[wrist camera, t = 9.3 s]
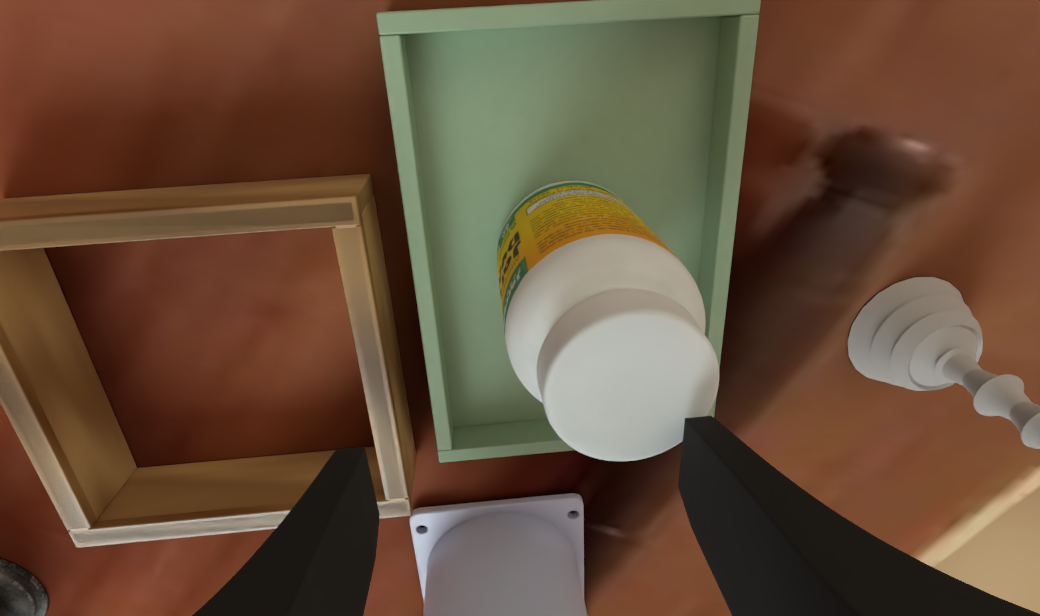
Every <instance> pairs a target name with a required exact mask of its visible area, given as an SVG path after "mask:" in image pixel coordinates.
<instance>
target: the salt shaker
mask: <svg viewBox="0 0 1040 616" xmlns="http://www.w3.org/2000/svg"><path fill="white" fill-rule="evenodd" d="M48 601H49V600H48V597H47V594H46V591H45V589H44V588H43V586H42V585H41V584H40V582H39V581H38V580H37V579H36V578H35V577H34V576H32V575H31V574H30V573H29V572H28V571H26V570H25V569H23V568H21V567H19V566H17V565H15V564H13V563H11V562H9V561H6V560H3V559H0V616H44V615H45V614H46V612H47V610H48Z"/></svg>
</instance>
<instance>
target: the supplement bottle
mask: <svg viewBox="0 0 1040 616" xmlns="http://www.w3.org/2000/svg"><path fill="white" fill-rule="evenodd" d="M497 270H498V278H499V288H500V295H501V297H500V298H501V304H502V313H503V324H504V338H505V343H506V347H507V351H508V355H509V358H510V361H511V364H512V367H513V369H514V371H515V373H516V375H517V376H518V378H519V380H520V381H521V382H522V384H523V385H524V386H525V388H526V389H527V390H528V391H529V392H530V393H531V394H532V395H533V396H534V397H535V398H536V399H538V400H539V401H540V402H542V403H543V405H544V409H545V413H546V415H547V418H548V421H549V423H550V424H551V426H552V427H553V429H554V430H555V432H556V433H557V434H558V436H559V437H560V438H561V439H562V440H563V441H564V442H565V443H567V444H568V445H569V446H570V447H572V448H573V449H575V450H576V451H578V452H580V453H582V454H584V455H587V456H590V457H593V458H596V459H600V460H607V461H634V460H640V459H645V458H648V457H652V456H655V455H657V454H660V453H663V452H665V451H667V450H669V449H670V448H672V447H674V446H676V445H677V444H679V443H680V442H682V441H683V433H684V423H685V418H692V417H703V416H707V415H708V413H709V411H710V409H711V408H712V405H713V403H714V400H715V398H716V395H717V391H718V385H719V365H718V361H717V357H716V354H715V351H714V349H713V347H712V345H711V343H710V341H709V340H708V338H707V337H706V336H705V309H704V304H703V300H702V297H701V294H700V291H699V289H698V286H697V285H696V283H695V281H694V279H693V277H692V276H691V274H690V273H689V272H688V270H687V269H686V267H685V266H684V265H683V264H682V263H681V261H680V260H679V259H678V258H677V257H676V255H675V254H674V253H672V252H671V251H670V250H669V249H668V248H667V246H665V244H664V243H663V242H662V241H661V240H660V239H659V238H658V237H657V236H656V235H655V234H654V233H653V232H652V231H651V230H650V229H649V228H648V227H647V226H646V225H645V224H644V223H643V222H642V220H641V219H640V218H639V217H638V216H637V215H636V214H635V213H634V212H633V211H632V210H631V209H630V208H629V207H628V206H627V205H626V204H625V203H624V202H623V201H622V200H621V199H620V198H619V197H618V196H616V195H615V194H614V193H612V192H611V191H609V190H607V189H605V188H603V187H601V186H599V185H596V184H593V183H589V182H584V181H561V182H556V183H551V184H548V185H545V186H543V187H541V188H539V189H537V190H535V191H534V192H532V193H531V194H529V195H528V196H527V197H525V198H524V199H523V200H522V201H521V202H520V203H519V204H518V205H517V206H516V207H515V208H514V209H513V210H512V212H511V213H510V214H509V216H508V217H507V219H506V221H505V223H504V224H503V226H502V228H501V231H500V234H499V237H498V242H497Z"/></svg>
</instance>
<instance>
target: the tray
mask: <svg viewBox="0 0 1040 616" xmlns="http://www.w3.org/2000/svg"><path fill="white" fill-rule="evenodd" d="M760 4H761V0H590V1H571V2H553V3H535V4H517V5H498V6H480V7H462V8H444V9H426V10H407V11H389V12H378V13H377V14H376V17H377V24H378V32H379V34H380V35H382V36H380V38H379V39H380V46H381V53H382V60H383V67H384V74H385V81H386V88H387V95H388V102H389V110H390V117H391V124H392V131H393V138H394V145H395V152H396V159H397V166H398V173H399V181H400V188H401V195H402V202H403V209H404V216H405V223H406V230H407V237H408V244H409V251H410V259H411V266H412V273H413V280H414V287H415V294H416V301H417V308H418V315H419V322H420V330H421V337H422V344H423V351H424V358H425V365H426V372H427V379H428V386H429V393H430V400H431V408H432V415H433V422H434V429H435V436H436V443H437V449H438V458H439V462H440V463H442V462H453V461H464V460H475V459H485V458H496V457H507V456H518V455H529V454H540V453H551V452H561V451H572V450H575V449H573V448H572V447H570V446H569V445H568V444H567V443H565V442H564V441H563V440H562V439H561V438H560V437H559V436H558V434H557V433H556V432H555V430H554V429H553V427H552V426H551V424H550V423H549V421H548V418H547V415H546V413H545V409H544V405H543V403H542V402H540V401H539V400H538V399H536V398H535V397H534V396H533V395H532V394H531V393H530V392H529V391H528V390H527V389H526V388H525V386H524V385H523V384H522V382H521V381H520V380H519V378H518V376H517V375H516V373H515V371H514V369H513V367H512V364H511V361H510V358H509V355H508V351H507V347H506V343H505V338H504V324H503V313H502V304H501V298H500V297H501V295H500V288H499V278H498V270H497V242H498V237H499V234H500V231H501V228H502V226H503V224H504V223H505V221H506V219H507V217H508V216H509V214H510V213H511V212H512V210H513V209H514V208H515V207H516V206H517V205H518V204H519V203H520V202H521V201H522V200H523V199H524V198H525V197H527V196H528V195H529V194H531V193H532V192H534V191H535V190H537V189H539V188H541V187H543V186H545V185H548V184H551V183H556V182H561V181H584V182H589V183H593V184H596V185H599V186H601V187H603V188H605V189H607V190H609V191H611V192H612V193H614V194H615V195H616V196H618V197H619V198H620V199H621V200H622V201H623V202H624V203H625V204H626V205H627V206H628V207H629V208H630V209H631V210H632V211H633V212H634V213H635V214H636V215H637V216H638V217H639V218H640V219H641V220H642V222H643V223H644V224H645V225H646V226H647V227H648V228H649V229H650V230H651V231H652V232H653V233H654V234H655V235H656V236H657V237H658V238H659V239H660V240H661V241H662V242H663V243H664V244H665V246H667V248H668V249H669V250H670V251H671V252H672V253H674V254H675V255H676V257H677V258H678V259H679V260H680V261H681V263H682V264H683V265H684V266H685V267H686V269H687V270H688V272H689V273H690V274H691V276H692V277H693V279H694V281H695V283H696V285H697V286H698V289H699V291H700V294H701V297H702V300H703V304H704V309H705V336H706V337H707V338H708V340H709V341H710V343H711V345H712V347H713V349H714V351H715V354H716V357H717V361H718V365H719V368H720V359H721V350H722V341H723V332H724V323H725V314H726V306H727V297H728V288H729V279H730V270H731V261H732V252H733V243H734V235H735V226H736V217H737V208H738V199H739V190H740V181H741V172H742V164H743V155H744V146H745V137H746V128H747V119H748V110H749V102H750V93H751V84H752V75H753V66H754V57H755V48H756V39H757V31H758V22H759V15H758V13H759V12H760ZM715 403H716V398H715V400H714V403H713V405H712V408H711V409H710V411H709V413H708V415H707V416H712V417H714V412H715Z"/></svg>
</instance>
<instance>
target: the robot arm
mask: <svg viewBox="0 0 1040 616" xmlns="http://www.w3.org/2000/svg"><path fill="white" fill-rule="evenodd" d="M678 487H679V490H680V493H681V497H682V500H683V503H684V506H685V509H686V512H687V515H688V518H689V521H690V524H691V527H692V530H693V532H694V534H695V536H696V539H697V541H698V543H699V545H700V547H701V549H702V552H703V554H704V556H705V558H706V560H707V562H708V565H709V567H710V569H711V571H712V573H713V575H714V577H715V579H716V582H717V584H718V586H719V588H720V590H721V592H722V594H723V597H724V599H725V601H726V603H727V605H728V607H729V609H730V611H731V614H732V616H1040V614H1038V613H1036V612H1033V611H1030V610H1028V609H1025V608H1023V607H1020V606H1018V605H1015V604H1013V603H1010V602H1008V601H1005V600H1003V599H1000V598H998V597H995V596H993V595H991V594H988V593H986V592H984V591H982V590H980V589H977V588H975V587H973V586H971V585H969V584H966V583H964V582H962V581H959V580H958V579H955V578H953V577H951V576H949V575H947V574H945V573H943V572H941V571H939V570H937V569H935V568H933V567H931V566H929V565H927V564H925V563H923V562H921V561H919V560H917V559H915V558H913V557H911V556H910V555H908V554H906V553H904V552H902V551H900V550H898V549H896V548H894V547H893V546H891V545H889V544H887V543H885V542H884V541H882V540H880V539H878V538H877V537H875V536H873V535H872V534H870V533H868V532H867V531H865V530H863V529H862V528H860V527H859V526H857V525H855V524H854V523H852V522H850V521H849V520H847V519H846V518H844V517H842V516H841V515H839V514H838V513H836V512H835V511H833V510H832V509H830V508H829V507H827V506H826V505H824V504H823V503H821V502H820V501H819V500H817V499H816V498H814V497H813V496H811V495H810V494H809V493H807V492H806V491H804V490H803V489H802V488H800V487H799V486H798V485H796V484H795V483H794V482H792V481H791V480H790V479H788V478H787V477H786V476H784V475H783V474H782V473H780V472H779V471H778V470H777V469H775V468H774V467H773V466H772V465H770V464H769V463H768V462H766V461H765V460H764V459H763V458H762V457H760V456H759V455H758V454H757V453H755V452H754V451H753V450H752V449H751V448H749V447H748V446H747V445H746V444H745V443H743V442H742V441H741V440H740V439H739V438H738V437H736V436H735V435H734V434H733V433H732V432H730V431H729V430H728V429H727V428H726V427H725V426H723V425H722V424H721V423H720V422H719V421H717V420H716V419H715V418H714V417H712V416H703V417H692V418H685V423H684V433H683V443H682V453H681V464H680V474H679V484H678ZM570 511H575V512H573V513H569V512H570ZM379 515H380V514H379V510H378V505H377V500H376V496H375V491H374V487H373V482H372V477H371V473H370V468H369V464H368V459H367V454H366V450H365V447H355V448H344V449H337V450H336V451H335V452H334V453H333V454H332V456H331V457H330V458H329V460H328V461H327V462H326V464H325V465H324V467H323V468H322V469H321V471H320V472H319V474H318V475H317V476H316V478H315V479H314V480H313V482H312V483H311V484H310V486H309V487H308V488H307V490H306V491H305V493H304V494H303V495H302V497H301V498H300V499H299V500H298V502H297V503H296V504H295V505H294V507H293V508H292V509H291V511H290V512H289V513H288V514H287V516H286V517H285V518H284V519H283V521H282V522H281V523H280V524H279V526H278V527H277V528H276V529H275V530H274V532H273V533H272V534H271V535H270V536H269V537H268V539H267V540H266V541H265V542H264V543H263V544H262V546H261V547H260V548H259V549H258V550H257V551H256V552H255V554H254V555H253V556H252V557H251V558H250V559H249V560H248V561H247V563H246V564H245V565H244V566H243V567H242V568H241V569H240V570H239V571H238V572H237V573H236V574H235V575H234V576H233V577H232V578H231V579H230V580H229V581H228V582H227V583H226V584H225V585H224V586H223V587H222V588H221V589H220V590H219V591H218V592H217V593H216V594H215V595H214V596H213V597H212V598H211V599H210V600H209V601H208V602H207V603H206V604H205V605H204V606H203V607H202V608H200V609H199V610H198V611H197V612H196V613H195V614H194V615H193V616H363V613H364V609H365V604H366V600H367V595H368V591H369V586H370V581H371V577H372V572H373V567H374V562H375V557H376V547H377V538H378V526H379ZM409 522H410V528H411V533H412V539H413V545H414V550H415V556H416V561H417V567H418V572H419V578H420V584H421V589H422V595H423V600H424V611H423V616H587V612H586V607H585V602H584V505H583V500H582V497H581V496H580V495H579V494H576V493H567V494H557V495H547V496H536V497H526V498H515V499H505V500H494V501H484V502H473V503H463V504H452V505H442V506H432V507H421V508H416V509H414V510H413V511H412V515H411V516H410V521H409ZM420 525H423V526H426V527H419V526H420Z"/></svg>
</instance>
